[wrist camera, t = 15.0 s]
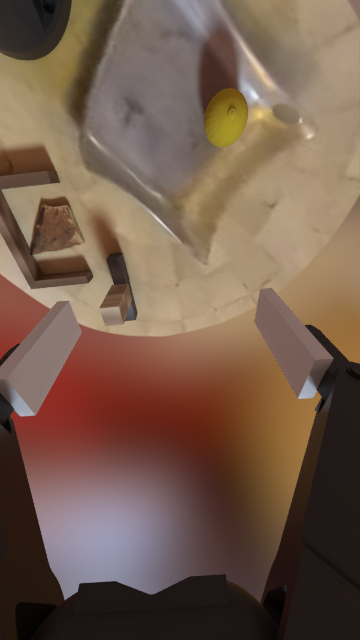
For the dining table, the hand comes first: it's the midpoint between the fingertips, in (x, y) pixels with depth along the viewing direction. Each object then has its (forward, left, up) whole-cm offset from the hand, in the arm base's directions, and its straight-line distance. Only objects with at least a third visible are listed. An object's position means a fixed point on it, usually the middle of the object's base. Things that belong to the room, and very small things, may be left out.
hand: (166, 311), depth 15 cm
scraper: (+10, -11, -29) cm, 33 cm away
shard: (-1, -20, -30) cm, 36 cm away
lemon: (-13, +9, -29) cm, 33 cm away
